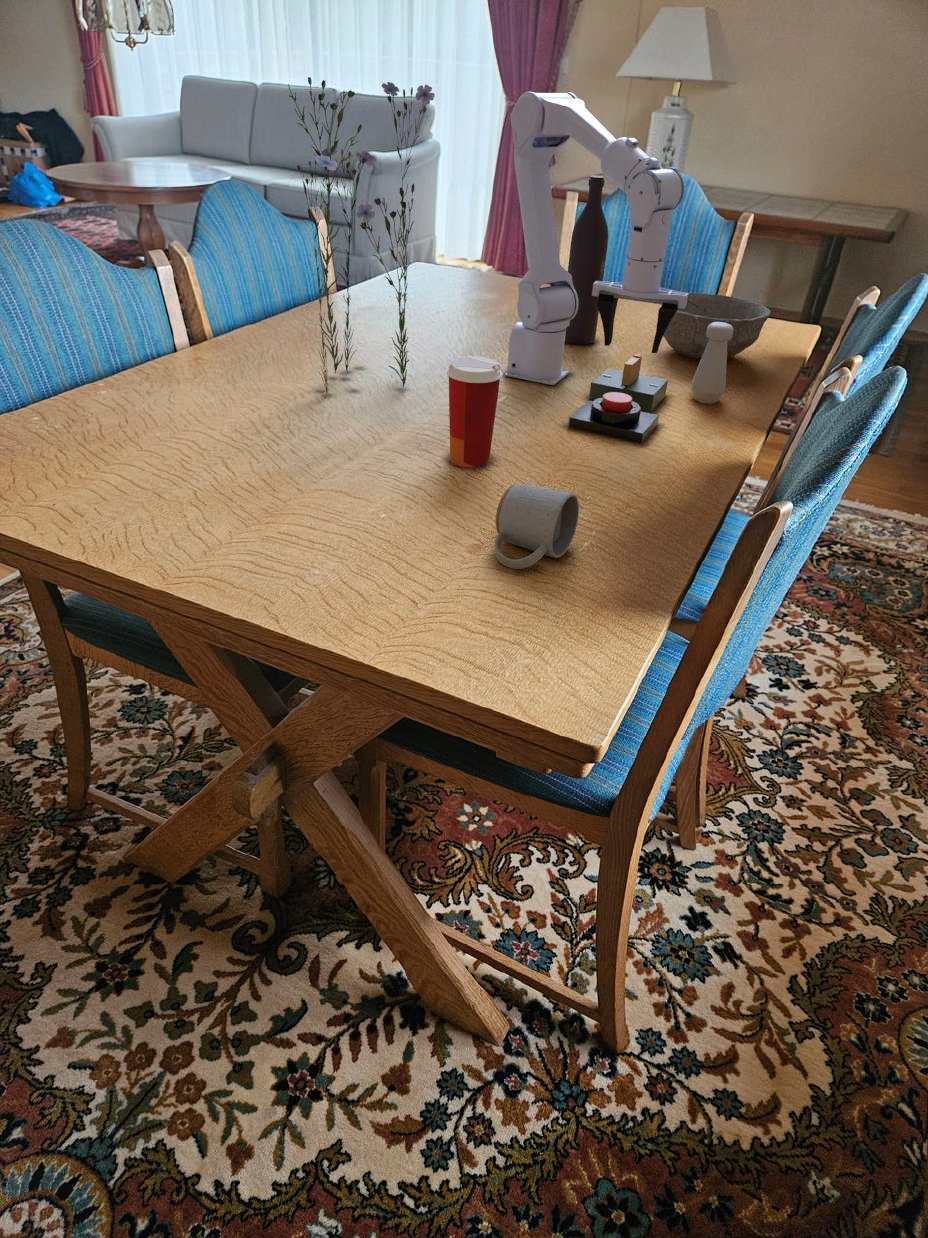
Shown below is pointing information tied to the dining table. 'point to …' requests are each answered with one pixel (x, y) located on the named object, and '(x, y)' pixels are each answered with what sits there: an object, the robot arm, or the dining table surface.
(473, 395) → the paper cup
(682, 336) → the bowl
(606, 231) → the wine bottle
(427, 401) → the dining table surface
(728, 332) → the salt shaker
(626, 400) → the light button
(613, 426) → the switch box
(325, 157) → the wildflower
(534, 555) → the ceramic mug
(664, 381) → the panel
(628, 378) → the dimmer knob
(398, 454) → the dining table surface
